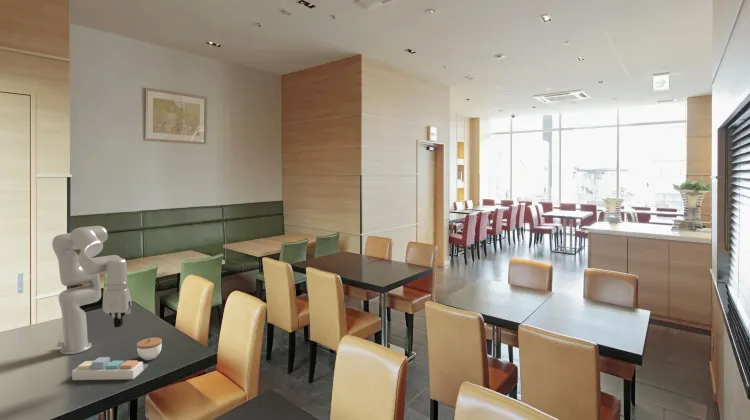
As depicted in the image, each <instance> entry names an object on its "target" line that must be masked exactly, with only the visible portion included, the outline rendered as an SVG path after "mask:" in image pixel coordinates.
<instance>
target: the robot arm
mask: <svg viewBox="0 0 750 420" xmlns="http://www.w3.org/2000/svg"><path fill="white" fill-rule="evenodd" d="M108 237H109V236H108V230H107V228H105V227H104V226H102V225H92V226H91V225H90V226H81V227H77V228H75V229H73V230H72V231H71V232H67V233H62V234H57V235H55V236H54V237H53V239H52V242H51V244H52V250H53V252H54V254H55V256H56V258H57V261H58V270H59V278H60V282H61V285H63V286H64V287H70V288H67V289H64V290H63V291H61V292H60V293H59V294H58V303H59V306H60V310H61V318H62V319H61V320H62V332H63V334H62V335H63V340H59V341H58V342H57V345H56V347H61V349H60V353H61V354H62V355H74V354H79V353H83V352H85V351H88V350H89V349H91V348H92V343H91V342H89V340H88V322H87V313H86V312H85V310H83V309H82V308H81V306H85V305H90V304H93V303H97V302H98V301H100V300H101V298H102V288H101V286H102V285H101V278H100V275H102V274H106V283H104V287H106V289H105V290H104V293H103V298H102V299H103V300H102V311H103V312H104V314H105V315H110V316H111V318H112V319H113V325H114V328H120V327H122V326H123V324H124V318H123V317H124V316H126V315H129V314H131V313H132V310H131V309H132V296H131V293H130V289H129V288H128V269H127V268H128V267H127V260H126V259H125V258H123V257H120V256H119V255H117V254H112V255H104V256H98V257H95V256H97V255H99V254H100V253H101V252H102V251H103V249H104V243H105V242H106V241H107V240H108ZM75 250H79V251H80V252H79V254H78V253H77V252H76V251H75ZM82 284H86V285H82ZM77 285H82V286H77ZM73 286H77V287H73ZM71 287H72V288H71Z"/></svg>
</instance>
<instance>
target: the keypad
mask: <svg viewBox="0 0 750 420" xmlns="http://www.w3.org/2000/svg"><path fill="white" fill-rule="evenodd" d="M148 367H149V364H148V363H144V362H143V361H138V364H137V365H136V366H135V367H133V368H132V369H120V368H119V369H106V368H105V369H96V370H92V368H91V369H90V370H78V366H77V367H76V368H75V369H74V368H73V370H72V371H71V376H72V377H71V378H72V379H71V380H72V381H93V380H94V381H95V380H96V381H99V380H103V381H104V380H134V379H136V378H137V377H138V376H139V375H140V374H141V373H142V372H143V371H145V370H146V369H147V368H148Z"/></svg>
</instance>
